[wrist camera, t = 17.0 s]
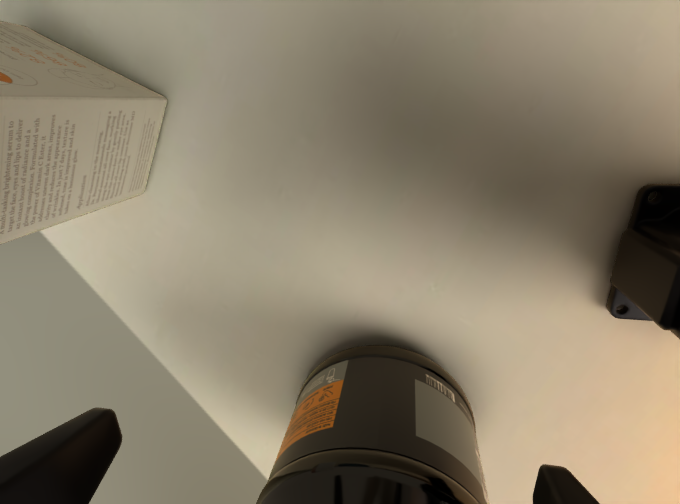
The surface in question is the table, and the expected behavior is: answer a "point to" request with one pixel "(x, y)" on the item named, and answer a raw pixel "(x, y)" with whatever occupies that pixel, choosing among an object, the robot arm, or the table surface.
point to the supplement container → (378, 435)
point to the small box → (67, 134)
